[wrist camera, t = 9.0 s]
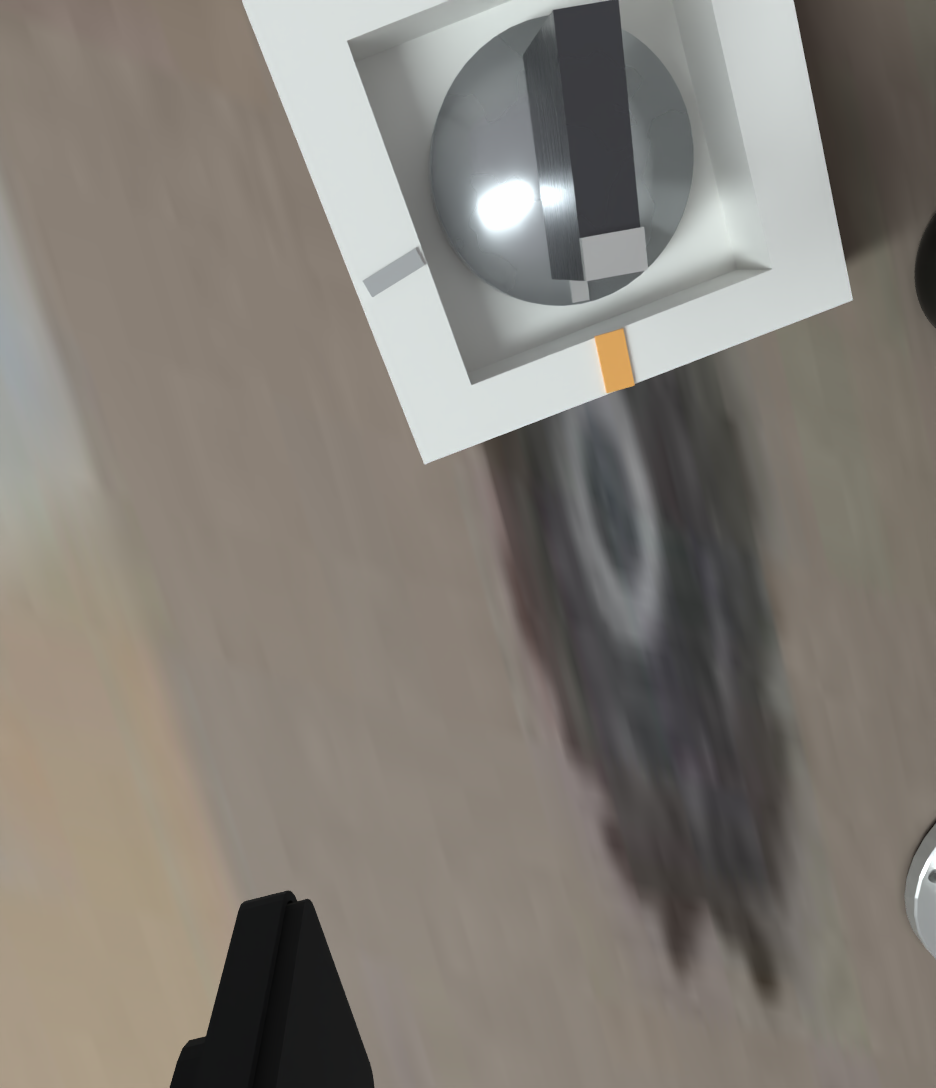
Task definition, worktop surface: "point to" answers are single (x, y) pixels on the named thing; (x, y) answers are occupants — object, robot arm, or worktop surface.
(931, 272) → the supplement bottle
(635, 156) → the dial
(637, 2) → the dial housing
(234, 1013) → the robot arm
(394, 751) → the worktop surface
